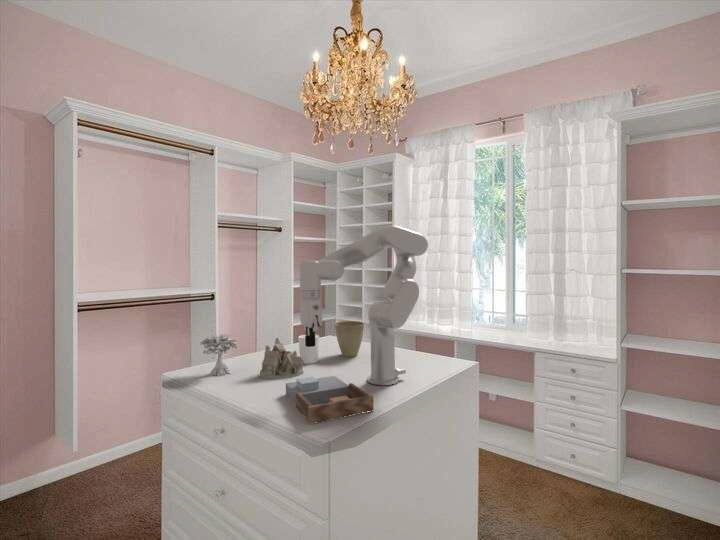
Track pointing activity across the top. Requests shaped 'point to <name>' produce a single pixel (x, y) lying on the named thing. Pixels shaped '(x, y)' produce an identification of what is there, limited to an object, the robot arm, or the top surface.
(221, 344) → the tree
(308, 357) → the candle holder
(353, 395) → the box
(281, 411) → the top surface
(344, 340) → the plant pot
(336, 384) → the grey flat block
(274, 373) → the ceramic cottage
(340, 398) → the terracotta tile
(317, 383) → the blue-grey tile
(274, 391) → the top surface
